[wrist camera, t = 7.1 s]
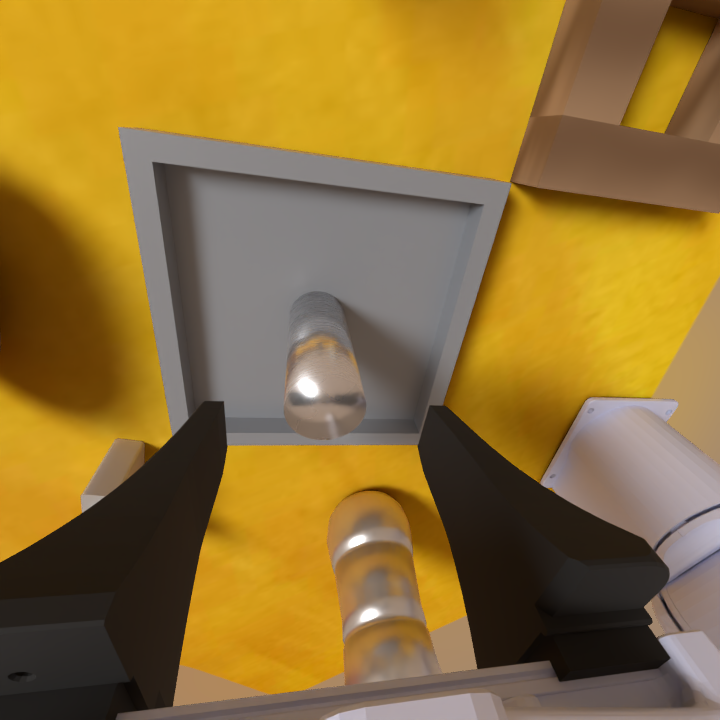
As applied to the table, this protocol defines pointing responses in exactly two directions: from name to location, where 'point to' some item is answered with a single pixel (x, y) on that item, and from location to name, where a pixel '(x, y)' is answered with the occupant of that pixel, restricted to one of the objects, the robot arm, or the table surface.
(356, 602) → the plastic bottle
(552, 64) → the block
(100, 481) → the lighter
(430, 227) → the tray
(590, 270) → the table surface
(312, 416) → the steel pin
